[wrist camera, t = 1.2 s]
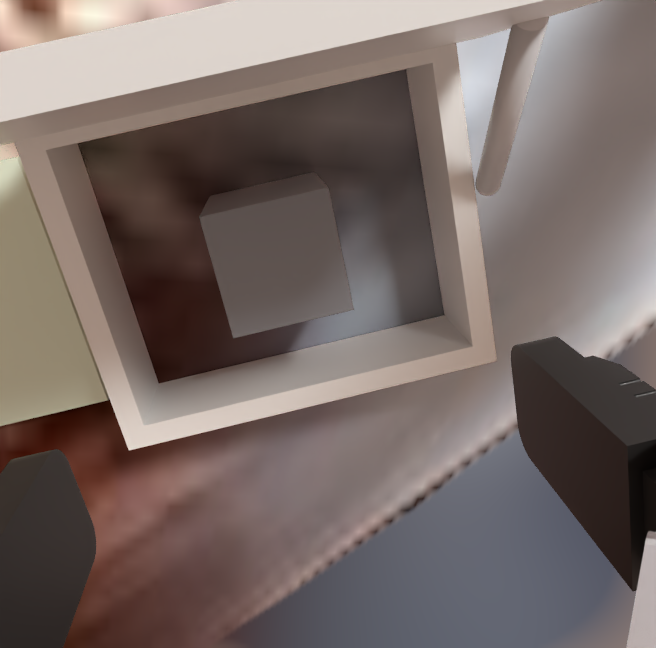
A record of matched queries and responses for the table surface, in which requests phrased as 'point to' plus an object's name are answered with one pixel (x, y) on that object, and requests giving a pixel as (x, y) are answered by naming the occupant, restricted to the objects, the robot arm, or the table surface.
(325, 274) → the block
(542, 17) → the case
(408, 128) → the table surface
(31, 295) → the mat
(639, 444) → the robot arm
